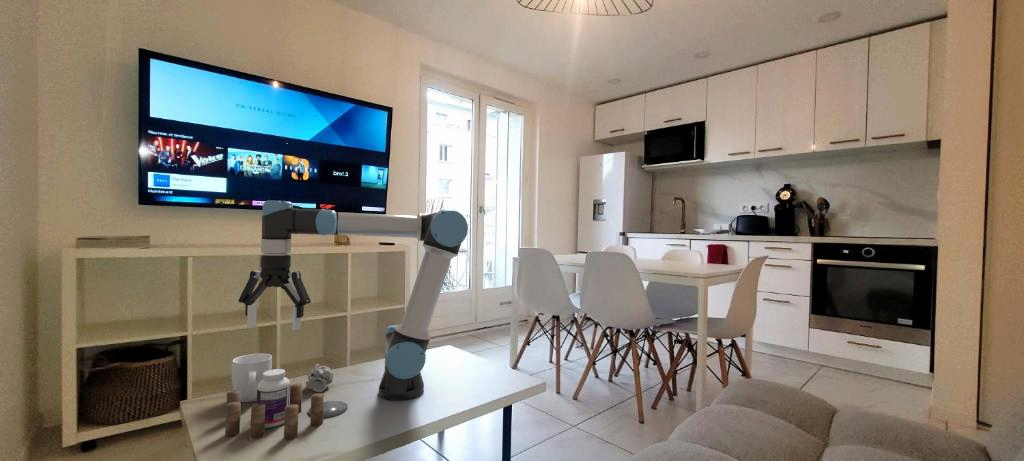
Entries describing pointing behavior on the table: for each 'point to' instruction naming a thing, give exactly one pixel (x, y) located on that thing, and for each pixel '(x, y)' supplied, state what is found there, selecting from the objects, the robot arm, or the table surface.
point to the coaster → (332, 408)
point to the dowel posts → (259, 414)
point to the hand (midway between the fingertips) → (273, 328)
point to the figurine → (319, 378)
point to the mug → (249, 374)
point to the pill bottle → (274, 396)
